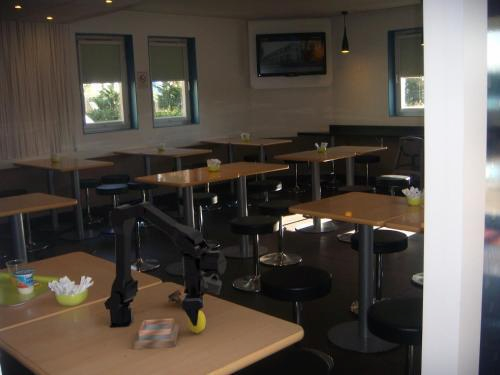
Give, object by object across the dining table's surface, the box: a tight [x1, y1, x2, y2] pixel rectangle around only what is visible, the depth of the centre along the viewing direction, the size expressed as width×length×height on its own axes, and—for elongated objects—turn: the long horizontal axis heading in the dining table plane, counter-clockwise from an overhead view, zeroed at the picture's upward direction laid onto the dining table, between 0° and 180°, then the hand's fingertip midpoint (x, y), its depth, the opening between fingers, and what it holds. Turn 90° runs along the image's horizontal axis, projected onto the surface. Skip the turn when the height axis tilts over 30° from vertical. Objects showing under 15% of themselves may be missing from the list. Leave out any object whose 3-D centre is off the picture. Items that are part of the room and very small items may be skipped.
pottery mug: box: [167, 285, 187, 304], centre depth 202 cm, size 12×10×8 cm
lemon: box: [187, 309, 207, 335], centre depth 177 cm, size 6×6×8 cm
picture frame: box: [133, 318, 180, 350], centre depth 174 cm, size 12×12×5 cm
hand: (196, 319), depth 177 cm, fingers open, 9 cm apart
